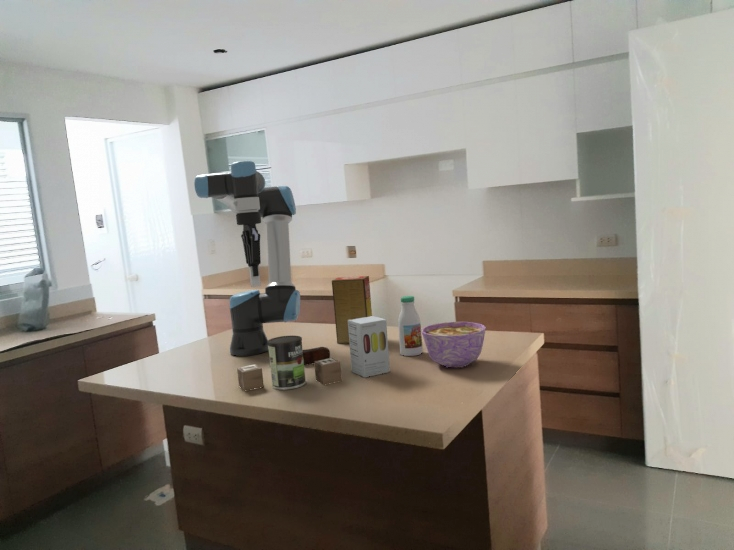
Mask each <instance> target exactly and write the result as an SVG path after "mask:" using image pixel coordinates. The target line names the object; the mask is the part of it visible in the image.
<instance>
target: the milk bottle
mask: <svg viewBox="0 0 734 550" xmlns="http://www.w3.org/2000/svg"><path fill="white" fill-rule="evenodd" d="M400 304H401V308H400V309H401V311H400V312H399V316H398V322H397V323H398V324H397V325H398V338H399V339H398V340H399V342H398V343H399V353H400V355H401V356H403V355H404V357H414V356H419V355H422V354H423V350H424V349H423V335H422V331H421V330H422V326H421V319H420V316H419V313H418V312H417V310H416V309H417V308H416V307H415V296H413V295H406V296H405V295H404V296H401V297H400ZM421 353H422V354H421Z"/></svg>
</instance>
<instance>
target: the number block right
mask: <svg viewBox="0 0 734 550" xmlns="http://www.w3.org/2000/svg"><path fill="white" fill-rule="evenodd" d="M313 365H314V373H315V374H314V375H315V381H316V380H317V381H316V382H318V383H319V382H320V384H321V385H323V386H326V385H330V384H329V383H331V384H334V382H335V383H338V381H339V382H342V381H343V376H342V368H341V365H342V364H341V361H340V360H337V359H336V358H333V357H329V359H325V360H320V361H315V362H314V364H313ZM325 384H326V385H325Z"/></svg>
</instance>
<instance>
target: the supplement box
mask: <svg viewBox="0 0 734 550" xmlns="http://www.w3.org/2000/svg"><path fill="white" fill-rule="evenodd" d="M348 330H349V343H348V344H349V352H350V353H349V354H350V367H351V368H350V369H351V372H353V374H356V375H358V376H361V377H362V378H365V379H366V378H369V376H370V377H373V376H378V375H382V373H383V374H386V373H387V374H388V373H390V372H391V370H390V355H389V341H388V326H387V319H385V318H382V317H378V316H374V315H372V316H370V317H364V318H358V319H352V320H348Z"/></svg>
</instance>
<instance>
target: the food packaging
mask: <svg viewBox="0 0 734 550" xmlns="http://www.w3.org/2000/svg"><path fill="white" fill-rule="evenodd" d="M370 285H371V284H370V276H369V275H363V276H360V275H359V276H343V277H342V276H341V277H336V278H333V279H332V280H331V288H332V289H331V290H332V297H333V299H332V300H333V301H332V302H333V307H334V308H333V310H334V323H335V333H336V343H337V344H350V343H349V330H348V320H352V319H358V318H364V317H370V316H373V313H372V312H373V310H372V299H371V286H370Z"/></svg>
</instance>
